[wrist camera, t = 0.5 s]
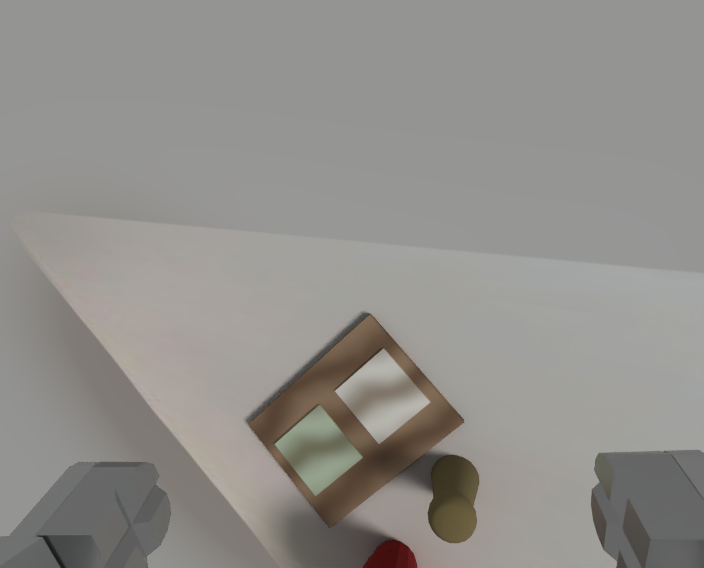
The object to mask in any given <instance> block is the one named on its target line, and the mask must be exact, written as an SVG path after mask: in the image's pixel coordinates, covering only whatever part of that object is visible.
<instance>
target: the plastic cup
mask: <svg viewBox="0 0 704 568" xmlns="http://www.w3.org/2000/svg"><path fill="white" fill-rule="evenodd" d="M363 568H417V563H416V560H415V556H414V554H413V552H412V551H411V550H410V548H409V547H408V546H406V545H405V544H403V543H402V542H398V541H394V540H391V541H385V542H384V543H382V544H381V545H379V546H378V547H377V548H376V550H375V551H374V553H373V554H372V556H371V557H369V559H368V561H367V562H366V564H365V565H364V567H363Z"/></svg>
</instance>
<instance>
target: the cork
mask: <svg viewBox="0 0 704 568" xmlns="http://www.w3.org/2000/svg"><path fill="white" fill-rule="evenodd" d="M431 476H432V486H433V497H434V498H433V500H432V501H431V503H430V506H429V510H428V520H429V524H430V526H431V528H432V530H433V532H434V533H435V534H436V535H437V536H438V537H439V538H441V539H442V540H444V541H447V542H449V543H460V542H464V541H466V540H467V539H468V538H470V537H471V535H472V534H473V532H474V530H475V528H476V523H477V518H476V511H475V509H474V507H473V505H474V501H475V497H476V494H477V490H478V486H479V475H478V473H477V470H476V468H475V467H474V466H473V465H472V463H471V462H470V461H468V460H467V459H465V458H463V457H460V456H457V455H449V456H446V457H443V458H441V459H440V460H438V461H437V462H436V464H435V465H434V467H433V469H432V474H431Z"/></svg>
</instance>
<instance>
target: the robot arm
mask: <svg viewBox="0 0 704 568" xmlns="http://www.w3.org/2000/svg"><path fill="white" fill-rule="evenodd" d="M594 471H595V473H596V475H597V477H598V479H599V481H600V482H599V483H598V484H597V485H596V486H595V487H594V488H593V489H592V496H591V508H592V515H593V522H594V525H595V528H596V532H597V535H598V537H599V540H600V542H601V545H602V547H603V550H604V551H606V552H607V553H608V554H609V555H610V556H611V557H613V558H614V559H615V560H616V561H617V567H616V568H704V453H703V452H701V451H700V450H678V451H664V452H662V451H644V452H610V453H599V454H598V455H597V457H596V460H595V467H594ZM158 478H159V474H158V472H157V470H156V468H155V466H154V464H152V463H147V462H78V463H76V464H74V465H72V466H70V467H69V468H68V469H67V470H66V471H65V472H64V474H63V475H62V476H61V477H60V478H59V479H58V481H57V482H56V483H55V484H54V485H53V486H52V487H51V488H50V490H49V491H48V492H47V493H46V494H45V495H44V497H43V498H42V499H41V500H40V501H39V502H38V504H37V505H36V506H35V507H34V508H33V509H32V510H31V511H30V513H29V514H28V515H27V516H26V517H25V518H24V520H23V521H22V522H21V523H20V524H19V525H18V527H17V528H16V529H15V530H14V531H13V532H12V533H11V535H10V536H7V537H0V568H148V563H147V556H148V555H149V554H150V553H152V552H153V551H154V550H155V549H156V548H158V547H159V546H160V545H161V543H162V541H163V539H164V537H165V534H166V532H167V530H168V525H169V521H170V516H171V509H170V501H169V499H168V496H167V493H166V492H164V491H163V490H162V489H161V488H159V487H158V486H157V485H156V483H157V480H158Z"/></svg>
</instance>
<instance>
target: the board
mask: <svg viewBox="0 0 704 568" xmlns="http://www.w3.org/2000/svg"><path fill="white" fill-rule="evenodd" d="M462 423H464V419H463V418H462V417H461V416H460V415H459V414H458V413H457V411H456V410H455V409H454V408H453V407H452V406H451V405H450V403H449V402H448V401H447V400H446V399H445V398H444V397H443V395H442V394H441V393H440V392H439V391H438V390H437V389H436V388H435V386H434V385H433V384H432V383H431V382H430V381H429V380H428V378H427V377H426V376H425V375H424V374H423V373H422V372H421V370H420V369H419V368H418V367H417V366H416V365H415V364H414V362H413V361H412V360H411V359H410V358H409V357H408V356H407V354H406V353H405V352H404V351H403V350H402V349H401V348H400V346H399V345H398V344H397V343H396V342H395V341H394V340H393V338H392V337H391V336H390V335H389V334H388V333H387V332H386V330H385V329H384V328H383V327H382V326H381V325H380V324H379V322H378V321H377V320H376V319H375V318H374V317H373V316H372V314H370V315H369V316H367V317H366V318H365V319H364V320H363V321H362V322H361V323H360V324H359V325H358V326H356V327H355V328H354V329H353V330H352V331H351V332H350V333H349V334H348V335H347V336H345V337H344V338H343V339H342V340H341V341H340V342H339V343H338V344H337V345H335V346H334V347H333V348H332V349H331V350H330V351H329V352H328V353H327V354H326V355H324V356H323V357H322V358H321V359H320V360H319V361H318V362H317V363H316V364H315V365H313V366H312V367H311V368H310V369H309V370H308V371H307V372H306V373H305V374H304V375H302V376H301V377H300V378H299V379H298V380H297V381H296V382H295V383H294V384H293V385H291V386H290V387H289V388H288V389H287V390H286V391H285V392H284V393H283V394H282V395H280V396H279V397H278V398H277V399H276V400H275V401H274V402H273V403H272V404H270V405H269V406H268V407H267V408H266V409H265V410H264V411H263V412H262V413H261V414H259V415H258V416H257V417H256V418H255V419H254V420H253V421H252V422H251V423H250V424H248V425H249V426H250V427H251V429H252V430H253V431H254V432H255V434H256V435H257V436H258V437H259V439H260V440H261V441H262V443H263V444H264V445H265V446H266V448H267V449H268V450H269V451H270V453H271V454H272V455H273V457H274V458H275V459H276V460H277V462H278V463H279V464H280V465H281V467H282V468H283V469H284V471H285V472H286V473H287V474H288V476H289V477H290V478H291V479H292V481H293V482H294V483H295V485H296V486H297V487H298V488H299V490H300V491H301V492H302V493H303V495H304V496H305V497H306V499H307V500H308V501H309V502H310V504H311V505H312V506H313V508H314V509H315V510H316V511H317V513H318V514H319V515H320V516H321V518H322V519H323V520H324V522H325V523H326V524H327V525H328V527H329V528H331V527H332V526H333V525H334V524H336V523H337V522H338V521H339V520H341V519H342V518H343V517H345V516H346V515H347V514H348V513H350V512H351V511H352V510H353V509H355V508H356V507H357V506H358V505H360V504H361V503H362V502H364V501H365V500H366V499H367V498H369V497H370V496H371V495H372V494H374V493H375V492H376V491H377V490H379V489H380V488H381V487H383V486H384V485H385V484H386V483H388V482H389V481H390V480H391V479H393V478H394V477H395V476H396V475H398V474H399V473H400V472H402V471H403V470H404V469H405V468H407V467H408V466H409V465H410V464H412V463H413V462H414V461H415V460H417V459H418V458H419V457H421V456H422V455H423V454H424V453H426V452H427V451H428V450H429V449H431V448H432V447H433V446H435V445H436V444H437V443H438V442H440V441H441V440H442V439H443V438H445V437H446V436H447V435H448V434H450V433H451V432H452V431H454V430H455V429H456V428H457V427H459V426H460V425H461V424H462Z"/></svg>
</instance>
